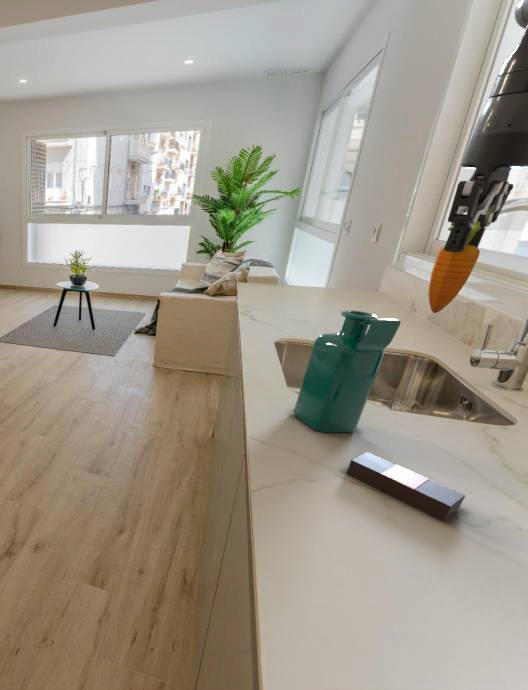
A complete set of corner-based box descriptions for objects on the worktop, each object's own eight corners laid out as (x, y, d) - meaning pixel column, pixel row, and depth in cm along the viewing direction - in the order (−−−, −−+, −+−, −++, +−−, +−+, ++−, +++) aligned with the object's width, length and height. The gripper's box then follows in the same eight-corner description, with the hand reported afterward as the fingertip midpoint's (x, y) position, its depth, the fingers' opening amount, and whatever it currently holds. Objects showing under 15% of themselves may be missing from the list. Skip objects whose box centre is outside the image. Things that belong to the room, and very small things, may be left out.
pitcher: (288, 411, 86) (320, 305, 77) (327, 411, 86) (363, 306, 78) (322, 437, 77) (363, 320, 68) (366, 437, 77) (412, 320, 69)
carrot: (426, 315, 71) (463, 221, 65) (409, 308, 76) (442, 219, 70) (461, 317, 70) (502, 222, 64) (442, 310, 74) (479, 220, 69)
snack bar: (362, 464, 69) (367, 451, 68) (458, 509, 60) (466, 494, 59) (345, 473, 67) (351, 459, 66) (443, 521, 57) (451, 506, 56)
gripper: (528, 124, 56) (473, 256, 63) (560, 134, 63) (507, 252, 69) (454, 130, 62) (411, 250, 69) (491, 138, 69) (448, 247, 75)
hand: (459, 250), depth 69 cm, fingers closed on carrot, 5 cm apart
